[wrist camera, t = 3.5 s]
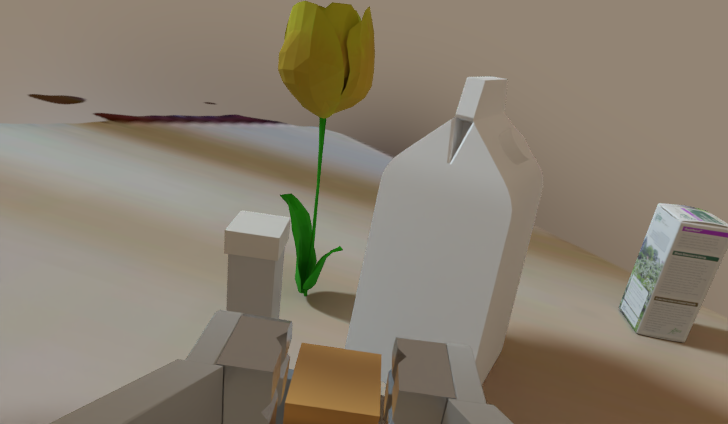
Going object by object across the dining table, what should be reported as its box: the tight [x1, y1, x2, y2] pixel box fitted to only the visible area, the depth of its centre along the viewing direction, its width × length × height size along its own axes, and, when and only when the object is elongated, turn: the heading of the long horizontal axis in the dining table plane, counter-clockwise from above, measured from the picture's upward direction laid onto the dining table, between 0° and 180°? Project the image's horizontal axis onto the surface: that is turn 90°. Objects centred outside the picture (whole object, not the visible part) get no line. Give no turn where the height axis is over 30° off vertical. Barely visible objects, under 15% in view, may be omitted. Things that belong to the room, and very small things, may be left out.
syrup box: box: [619, 203, 728, 343], centre depth 53 cm, size 6×6×14 cm
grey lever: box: [224, 210, 291, 319], centre depth 33 cm, size 5×4×14 cm
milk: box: [345, 76, 544, 385], centre depth 40 cm, size 12×12×26 cm
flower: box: [278, 1, 375, 296], centre depth 46 cm, size 9×8×30 cm
